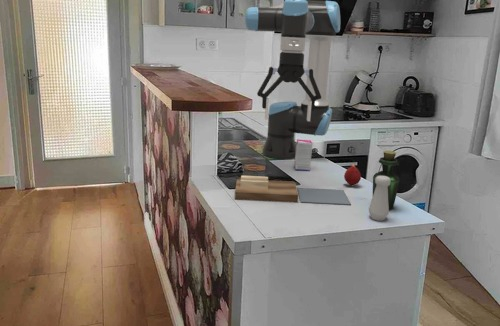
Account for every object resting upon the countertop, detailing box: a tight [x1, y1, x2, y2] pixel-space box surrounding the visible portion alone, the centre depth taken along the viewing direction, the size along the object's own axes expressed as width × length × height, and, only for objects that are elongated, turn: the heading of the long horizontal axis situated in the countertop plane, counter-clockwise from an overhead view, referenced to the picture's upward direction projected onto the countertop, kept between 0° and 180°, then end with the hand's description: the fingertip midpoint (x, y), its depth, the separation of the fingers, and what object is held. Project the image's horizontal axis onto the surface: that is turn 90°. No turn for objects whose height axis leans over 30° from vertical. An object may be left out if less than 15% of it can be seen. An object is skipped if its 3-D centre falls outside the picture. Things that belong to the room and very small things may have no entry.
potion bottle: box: [371, 150, 401, 211], centre depth 146 cm, size 8×8×18 cm
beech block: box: [240, 174, 269, 190], centre depth 154 cm, size 6×9×2 cm, turn 89°
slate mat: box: [296, 187, 352, 206], centre depth 155 cm, size 14×16×1 cm
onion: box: [343, 164, 362, 187], centre depth 166 cm, size 6×6×8 cm
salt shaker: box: [368, 176, 390, 222], centre depth 137 cm, size 6×6×13 cm
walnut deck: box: [234, 178, 299, 204], centre depth 155 cm, size 14×20×2 cm
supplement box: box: [293, 138, 313, 172], centre depth 184 cm, size 6×6×12 cm
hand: (287, 119), depth 150 cm, fingers open, 13 cm apart
